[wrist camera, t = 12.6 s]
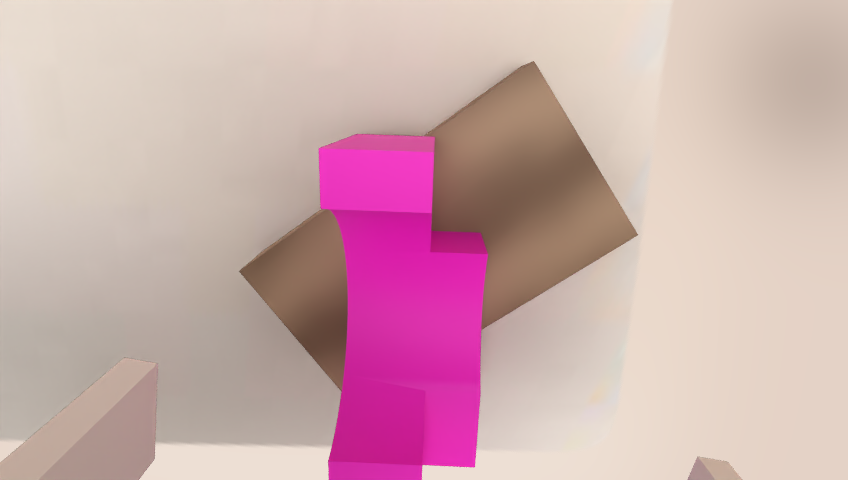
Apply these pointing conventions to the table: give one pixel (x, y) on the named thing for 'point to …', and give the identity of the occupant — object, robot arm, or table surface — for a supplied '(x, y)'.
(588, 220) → the walnut base block
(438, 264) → the toy block
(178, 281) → the table surface
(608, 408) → the table surface
